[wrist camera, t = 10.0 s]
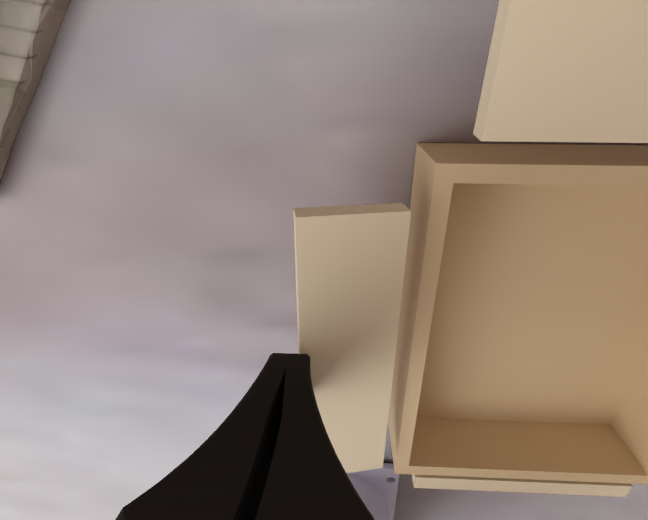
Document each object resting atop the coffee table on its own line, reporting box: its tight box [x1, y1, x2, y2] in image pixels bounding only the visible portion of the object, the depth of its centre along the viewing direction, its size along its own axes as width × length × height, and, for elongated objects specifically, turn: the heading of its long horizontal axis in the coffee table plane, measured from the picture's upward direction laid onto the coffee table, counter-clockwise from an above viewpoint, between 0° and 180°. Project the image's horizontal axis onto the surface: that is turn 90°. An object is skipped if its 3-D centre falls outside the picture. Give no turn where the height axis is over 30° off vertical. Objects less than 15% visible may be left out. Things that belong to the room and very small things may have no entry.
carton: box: [388, 143, 648, 497], centre depth 16 cm, size 16×13×3 cm
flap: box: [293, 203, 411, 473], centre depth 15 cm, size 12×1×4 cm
